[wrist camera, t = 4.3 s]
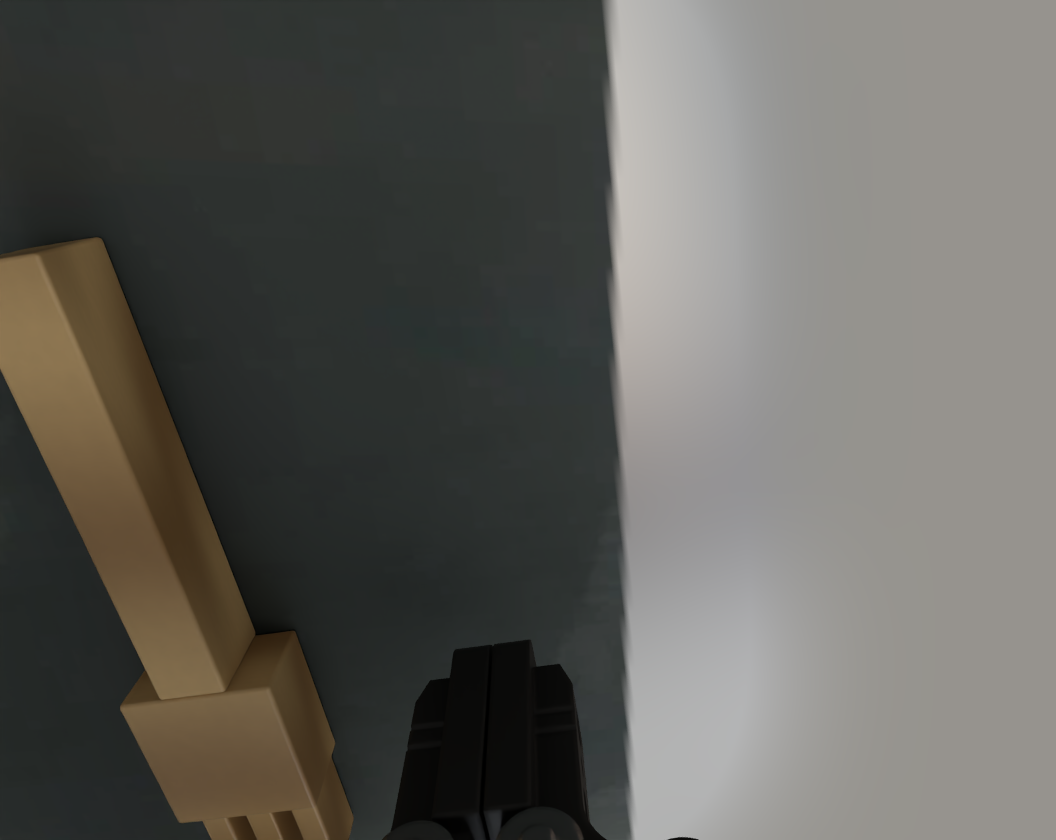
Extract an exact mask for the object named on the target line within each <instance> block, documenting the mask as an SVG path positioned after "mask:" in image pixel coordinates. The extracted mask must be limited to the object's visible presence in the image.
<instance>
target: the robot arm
mask: <svg viewBox="0 0 1056 840" xmlns="http://www.w3.org/2000/svg"><path fill="white" fill-rule="evenodd" d="M407 747H408V751H406V756H405V762H404V767H403V772H402V777H401V783H400V788H399V793H398V799H397V804H396V809H395V814H394V820H393V825H392V828H391V832H390V833H389V834H387V835H386V836H385V837H384V838H383V839H382V840H606V839H605V838H603V837H602V836H601V835H600V834H599V833H598V832H597V831H596V830H595V829H594V828H593V826H592V825H591V824H590V819H589V809H588V798H587V789H586V778H585V768H584V757H583V747H582V738H581V732H580V726H579V721H578V715H577V709H576V703H575V697H574V691H573V685H572V682H571V680H570V679H569V677H568V676H567V674H566V673H565V671H564V670H563V668H562V667H561V665H560V664H555V665H548V666H540V667H536V662H535V657H534V652H533V647H532V642H531V640H523V641H515V642H507V643H500V644H494V646H492V645H485V646H478V647H470V648H462V649H455V651H454V653H453V659H452V667H451V674H450V678H446V679H438V680H430V681H429V683H428V685H427V686H426V688H425V689H424V691H423V692H422V694H421V695H420V697H419V698H418V700H417V701H416V703H415V709H414V714H413V719H412V724H411V731H410V735H409V740H408V746H407ZM668 840H698V839H693V838H688V837H678V838H672V839H668Z"/></svg>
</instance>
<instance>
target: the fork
mask: <svg viewBox="0 0 1056 840" xmlns="http://www.w3.org/2000/svg"><path fill="white" fill-rule="evenodd" d="M0 370H1V372H2V374H3V376H4V378H5V380H6V382H7V384H8V386H9V388H10V390H11V392H12V394H13V396H14V399H15V401H16V403H17V405H18V407H19V409H20V411H21V413H22V415H23V417H24V419H25V421H26V423H27V425H28V428H29V430H30V432H31V434H32V436H33V438H34V440H35V442H36V444H37V446H38V448H39V450H40V452H41V454H42V457H43V459H44V461H45V463H46V465H47V467H48V469H49V471H50V473H51V475H52V477H53V479H54V481H55V483H56V486H57V488H58V490H59V492H60V494H61V496H62V498H63V500H64V502H65V504H66V506H67V508H68V510H69V512H70V515H71V517H72V519H73V521H74V523H75V525H76V527H77V529H78V531H79V533H80V535H81V537H82V539H83V541H84V544H85V546H86V548H87V550H88V552H89V554H90V556H91V558H92V560H93V562H94V564H95V566H96V568H97V570H98V573H99V575H100V577H101V579H102V581H103V583H104V585H105V587H106V589H107V591H108V593H109V595H110V597H111V599H112V602H113V604H114V606H115V608H116V610H117V612H118V614H119V616H120V618H121V620H122V622H123V624H124V626H125V628H126V631H127V633H128V635H129V637H130V639H131V641H132V643H133V645H134V647H135V649H136V651H137V653H138V655H139V657H140V660H141V662H142V664H143V666H144V668H145V671H144V672H143V674H142V675H141V677H140V678H139V680H138V681H137V682H136V684H135V685H134V687H133V688H132V690H131V691H130V692H129V694H128V695H127V697H126V698H125V699H124V701H123V702H122V704H121V706H120V710H121V711H122V713H123V715H124V717H125V719H126V721H127V723H128V725H129V727H130V729H131V731H132V733H133V735H134V737H135V739H136V740H137V742H138V744H139V746H140V748H141V750H142V752H143V754H144V756H145V758H146V760H147V762H148V764H149V766H150V768H151V770H152V771H153V773H154V775H155V777H156V779H157V781H158V783H159V785H160V787H161V789H162V791H163V793H164V795H165V797H166V799H167V800H168V802H169V804H170V806H171V808H172V810H173V812H174V814H175V816H176V818H177V820H178V822H180V823H187V822H195V821H203V823H204V825H205V827H206V829H207V831H208V833H209V835H210V837H211V839H212V840H349V836H350V832H351V828H352V824H353V819H354V817H353V814H352V811H351V809H350V806H349V803H348V801H347V798H346V795H345V792H344V790H343V787H342V784H341V782H340V779H339V776H338V773H337V771H336V768H335V765H334V763H333V760H332V757H331V756H332V753H333V749H334V746H335V740H334V738H333V735H332V732H331V729H330V727H329V724H328V721H327V718H326V716H325V713H324V710H323V707H322V704H321V702H320V699H319V696H318V693H317V691H316V688H315V685H314V682H313V679H312V677H311V674H310V671H309V668H308V666H307V663H306V660H305V657H304V655H303V652H302V649H301V646H300V643H299V641H298V638H297V635H296V632H295V631H286V632H279V633H271V634H263V635H256V636H255V630H254V627H253V625H252V622H251V619H250V617H249V614H248V612H247V609H246V607H245V604H244V602H243V599H242V596H241V594H240V591H239V589H238V586H237V584H236V581H235V578H234V576H233V573H232V571H231V568H230V566H229V563H228V560H227V558H226V555H225V553H224V550H223V548H222V545H221V543H220V540H219V537H218V535H217V532H216V530H215V527H214V525H213V522H212V519H211V517H210V514H209V512H208V509H207V507H206V504H205V501H204V499H203V496H202V494H201V491H200V489H199V486H198V484H197V481H196V478H195V476H194V473H193V471H192V468H191V466H190V463H189V460H188V458H187V455H186V453H185V450H184V448H183V445H182V442H181V440H180V437H179V435H178V432H177V430H176V427H175V425H174V422H173V419H172V417H171V414H170V412H169V409H168V407H167V404H166V401H165V399H164V396H163V394H162V391H161V389H160V386H159V383H158V381H157V378H156V376H155V373H154V371H153V368H152V366H151V363H150V360H149V358H148V355H147V353H146V350H145V348H144V345H143V342H142V340H141V337H140V335H139V332H138V330H137V327H136V324H135V322H134V319H133V317H132V314H131V312H130V309H129V307H128V304H127V301H126V299H125V296H124V294H123V291H122V289H121V286H120V283H119V281H118V278H117V276H116V273H115V271H114V268H113V265H112V263H111V260H110V258H109V255H108V253H107V250H106V248H105V245H104V242H103V240H102V239H101V238H98V237H94V238H88V239H82V240H75V241H69V242H63V243H57V244H51V245H45V246H39V247H33V248H27V249H23V250H18V251H14V252H10V253H6V254H1V255H0Z"/></svg>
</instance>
